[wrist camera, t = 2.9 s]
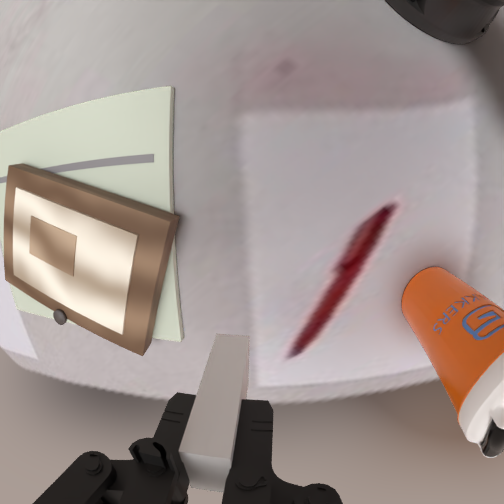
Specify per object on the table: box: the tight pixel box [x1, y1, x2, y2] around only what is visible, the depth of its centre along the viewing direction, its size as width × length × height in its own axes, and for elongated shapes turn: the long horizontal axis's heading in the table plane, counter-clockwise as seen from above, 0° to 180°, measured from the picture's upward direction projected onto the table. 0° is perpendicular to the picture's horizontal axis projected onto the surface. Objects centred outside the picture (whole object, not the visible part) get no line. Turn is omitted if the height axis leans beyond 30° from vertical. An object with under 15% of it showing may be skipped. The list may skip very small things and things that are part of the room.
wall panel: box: [0, 86, 184, 342], centre depth 28 cm, size 26×28×1 cm
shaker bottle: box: [402, 267, 504, 458], centre depth 18 cm, size 9×9×20 cm
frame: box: [4, 163, 180, 356], centre depth 26 cm, size 16×22×3 cm
